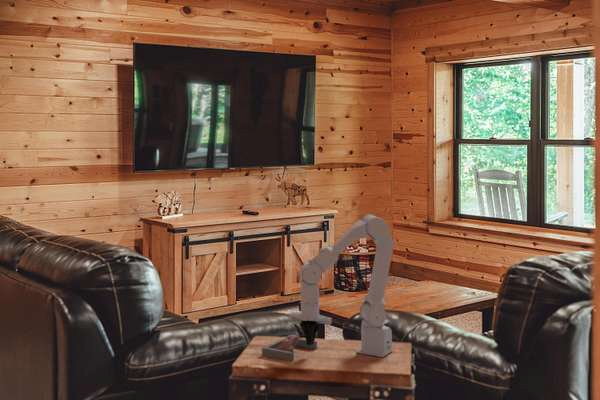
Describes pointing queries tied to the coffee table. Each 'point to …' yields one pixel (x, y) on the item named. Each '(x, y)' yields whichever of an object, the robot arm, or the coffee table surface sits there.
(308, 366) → the coffee table surface
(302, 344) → the controller dock
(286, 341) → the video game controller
